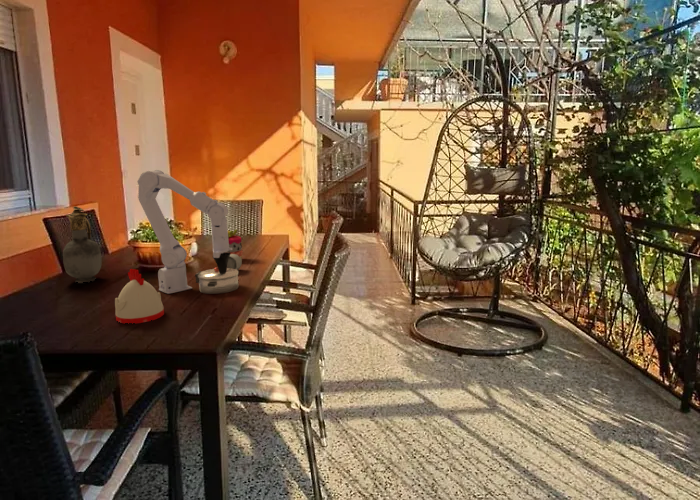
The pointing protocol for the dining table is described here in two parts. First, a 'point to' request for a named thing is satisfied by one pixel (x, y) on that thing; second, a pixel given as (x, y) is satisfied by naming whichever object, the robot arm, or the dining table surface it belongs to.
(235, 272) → the cooker lid
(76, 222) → the grey rounded bottle shape
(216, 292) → the cooker pot
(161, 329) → the dining table surface
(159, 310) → the kitchen timer
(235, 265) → the ceramic mug
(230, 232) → the cake
